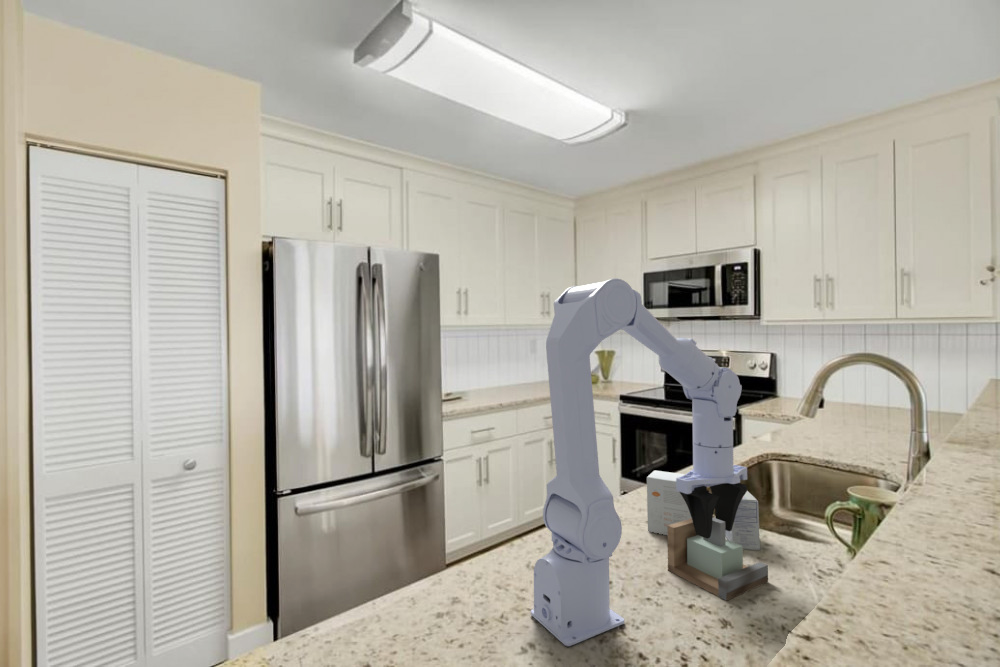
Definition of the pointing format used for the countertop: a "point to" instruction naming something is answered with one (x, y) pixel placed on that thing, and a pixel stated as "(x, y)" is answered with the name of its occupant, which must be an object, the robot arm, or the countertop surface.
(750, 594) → the countertop surface
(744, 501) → the medicine box
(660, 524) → the small box
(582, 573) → the robot arm
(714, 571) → the mint block with tab
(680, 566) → the board
